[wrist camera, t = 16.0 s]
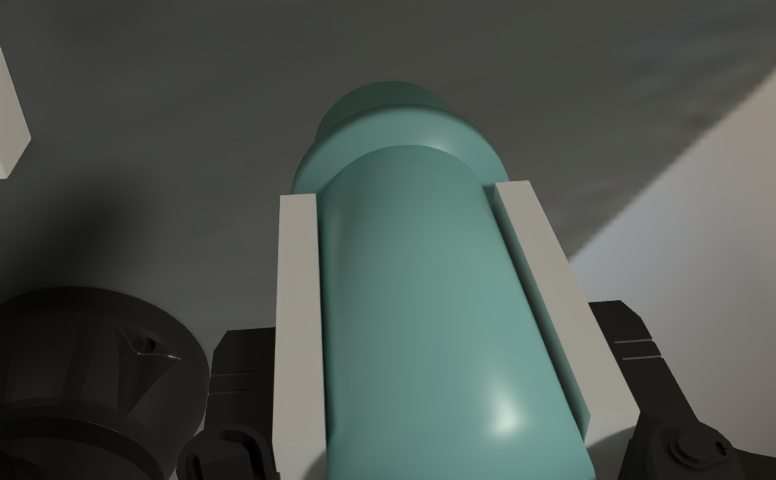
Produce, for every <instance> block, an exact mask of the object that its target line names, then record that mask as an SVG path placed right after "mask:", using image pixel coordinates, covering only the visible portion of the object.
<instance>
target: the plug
mask: <svg viewBox="0 0 776 480" xmlns="http://www.w3.org/2000/svg"><path fill="white" fill-rule="evenodd" d="M497 182H510V181H509V179H508V176H507V174H506V172H505V169H504V167H503V165H502V163H501V161H500V159H499V156H498V154H497V152H496V150H495V149H494V147H493V146H492V144H491V143H490V141H489V140H488V139H487V138H486V137H485V135H484V134H483V133H482V132H481V131H480V130H479V129H477V128H476V127H475V126H474V125H473V124H471V123H470V122H468V121H467V120H465V119H464V118H462V117H460V116H458V115H456V114H454V113H453V112H452V111H451V109H450V108H449V107H448V105H447V104H446V103H445V102H444V101H443V100H442V99H441V98H439V97H438V96H437V95H436V94H434V93H432V92H431V91H429V90H427V89H425V88H423V87H421V86H418V85H415V84H411V83H407V82H401V81H384V82H377V83H372V84H368V85H365V86H362V87H360V88H358V89H355V90H353V91H351V92H350V93H348V94H347V95H345V96H343V97H342V98H341V99H340V100H339V101H337V102H336V103H335V104H334V105H333V106H332V107H331V108H330V109H329V111H328V112H327V113H326V115H325V116H324V118H323V119H322V121H321V123H320V125H319V128H318V131H317V134H316V138H315V143H314V144H313V145H312V146H311V147H310V148H309V150H308V151H307V153H306V154H305V156H304V157H303V159H302V161H301V163H300V165H299V167H298V169H297V171H296V174H295V177H294V180H293V184H292V190H291V195H297V194H314V193H315V194H316V206H317V219H318V238H319V263H320V288H321V312H322V337H323V362H324V387H325V412H326V436H327V461H328V472H327V480H596V476H595V472H594V468H593V465H592V462H591V460H590V457H589V455H588V452H587V450H586V447H585V445H584V442H583V439H582V437H581V434H580V432H579V429H578V427H577V424H576V422H575V419H574V417H573V414H572V412H571V409H570V406H569V404H568V401H567V399H566V396H565V394H564V391H563V389H562V386H561V384H560V381H559V378H558V376H557V373H556V371H555V368H554V366H553V363H552V361H551V358H550V356H549V353H548V351H547V348H546V345H545V343H544V340H543V338H542V335H541V333H540V330H539V328H538V325H537V323H536V320H535V317H534V315H533V312H532V310H531V307H530V305H529V302H528V300H527V297H526V295H525V292H524V290H523V287H522V284H521V282H520V279H519V277H518V274H517V272H516V269H515V267H514V264H513V262H512V259H511V256H510V254H509V251H508V249H507V246H506V244H505V241H504V239H503V236H502V234H501V231H500V228H499V226H498V223H497V221H496V218H495V216H494V213H493V211H492V209H493V199H494V188H495V183H497Z"/></svg>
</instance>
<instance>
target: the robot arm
mask: <svg viewBox="0 0 776 480" xmlns="http://www.w3.org/2000/svg"><path fill="white" fill-rule="evenodd" d="M492 211H493V213H494V216H495V218H496V221H497V223H498V226H499V228H500V231H501V234H502V236H503V239H504V241H505V244H506V246H507V249H508V251H509V254H510V256H511V259H512V262H513V264H514V267H515V269H516V272H517V274H518V277H519V279H520V282H521V284H522V287H523V290H524V292H525V295H526V297H527V300H528V302H529V305H530V307H531V310H532V312H533V315H534V317H535V320H536V323H537V325H538V328H539V330H540V333H541V335H542V338H543V340H544V343H545V345H546V348H547V351H548V353H549V356H550V358H551V361H552V363H553V366H554V368H555V371H556V373H557V376H558V378H559V381H560V384H561V386H562V389H563V391H564V394H565V396H566V399H567V401H568V404H569V406H570V409H571V412H572V414H573V417H574V419H575V422H576V424H577V427H578V429H579V432H580V434H581V437H582V439H583V442H584V445H585V447H586V450H587V452H588V455H589V457H590V460H591V462H592V465H593V468H594V472H595V476H596V480H776V458H775V457H769V456H764V455H759V454H753V453H749V452H746V451H742V450H738V449H736V448H734V447H732V445H731V443H730V442H729V441H728V440H727V439H726V438H725V437H724V436H723V435H722V434H721V433H719V432H718V431H717V430H715V429H713V428H711V427H709V426H707V425H706V424H703V423H701V422H699V420H698V419H697V418H696V416H695V414H694V412H693V410H692V409H691V407H690V405H689V403H688V401H687V400H686V398H685V396H684V394H683V393H682V391H681V389H680V387H679V385H678V384H677V382H676V380H675V378H674V376H673V375H672V373H671V371H670V369H669V367H668V366H667V364H666V362H665V360H664V359H663V358H661V353H660V351H659V349H658V348H657V346H656V344H655V342H652V337H651V335H650V333H649V332H648V330H647V328H646V326H645V324H644V323H643V321H642V319H641V317H640V316H638V315H637V314H636V313H635V312H634V311H632V310H631V309H630V308H629V307H628V306H626V305H625V304H624V303H623V302H622V301H621V300H616V301H603V302H589V303H588V302H587V300H586V298H585V296H584V294H583V292H582V290H581V288H580V286H579V284H578V282H577V280H576V278H575V275H574V273H573V271H572V269H571V267H570V265H569V263H568V261H567V259H566V257H565V255H564V253H563V251H562V249H561V246H560V244H559V242H558V240H557V238H556V236H555V234H554V232H553V230H552V228H551V226H550V224H549V222H548V220H547V218H546V215H545V213H544V211H543V209H542V207H541V205H540V203H539V201H538V199H537V197H536V195H535V193H534V191H533V189H532V186H531V184H530V182H529V181H513V182H497V183H495V188H494V199H493V209H492ZM209 380H210V384H209ZM208 389H209V396H208ZM207 397H208V400H207ZM206 404H207V408H206ZM205 409H206V416H205V424H204V430H203V431H201V432H199V433H198V434H197V435H196V436H194V435H195V433H196V431H197V429H198V428H199V426H200V424H201V421H202V419H203V416H204V413H205ZM193 436H194V437H193ZM176 466H177V468H176ZM175 468H176V474H177V477H178V480H327V472H328V461H327V436H326V412H325V387H324V362H323V337H322V312H321V288H320V263H319V238H318V219H317V206H316V194H315V193H314V194H297V195H281V196H280V220H279V251H278V281H277V312H276V327H272V328H258V329H245V330H231V331H227V332H226V334H225V335H224V337H223V338H222V340H221V341H220V343H219V344H218V346H217V347H216V349H215V350H214V353H213V361H212V369H211V378H210V374H209V366H208V362H207V359H206V356H205V354H204V352H203V350H202V348H201V346H200V344H199V343H198V341H197V340H196V339H195V337H194V336H193V335H192V334H191V333H190V331H189V330H188V329H187V328H186V327H185V326H184V325H182V324H181V323H180V322H179V321H178V320H176V319H175V318H174V317H172V316H171V315H169V314H168V313H166V312H165V311H163V310H161V309H160V308H158V307H156V306H154V305H152V304H150V303H148V302H145V301H143V300H141V299H138V298H135V297H132V296H129V295H126V294H122V293H119V292H114V291H110V290H104V289H97V288H87V287H61V288H52V289H45V290H40V291H36V292H32V293H29V294H25V295H22V296H20V297H17V298H15V299H13V300H10V301H9V302H7V303H5V304H3V305H1V306H0V480H169V478H170V477H171V475H172V473H173V471H174V470H175Z"/></svg>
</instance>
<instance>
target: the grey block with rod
mask: <svg viewBox="0 0 776 480" xmlns="http://www.w3.org/2000/svg"><path fill="white" fill-rule="evenodd" d="M30 140H31V136H30V133H29V131H28V128H27V125H26V122H25V119H24V116H23V113H22V110H21V107H20V104H19V101H18V98H17V95H16V92H15V89H14V86H13V83H12V80H11V77H10V74H9V71H8V68H7V65H6V62H5V59H4V56H3V53H2V50H1V47H0V179H7V178H8V176H9V175H10V173H11V171H12V170H13V168H14V166H15V165H16V163H17V161H18V160H19V158H20V156H21V155H22V153H23V151H24V150H25V148H26V146H27V145H28V143H29V142H30Z"/></svg>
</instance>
